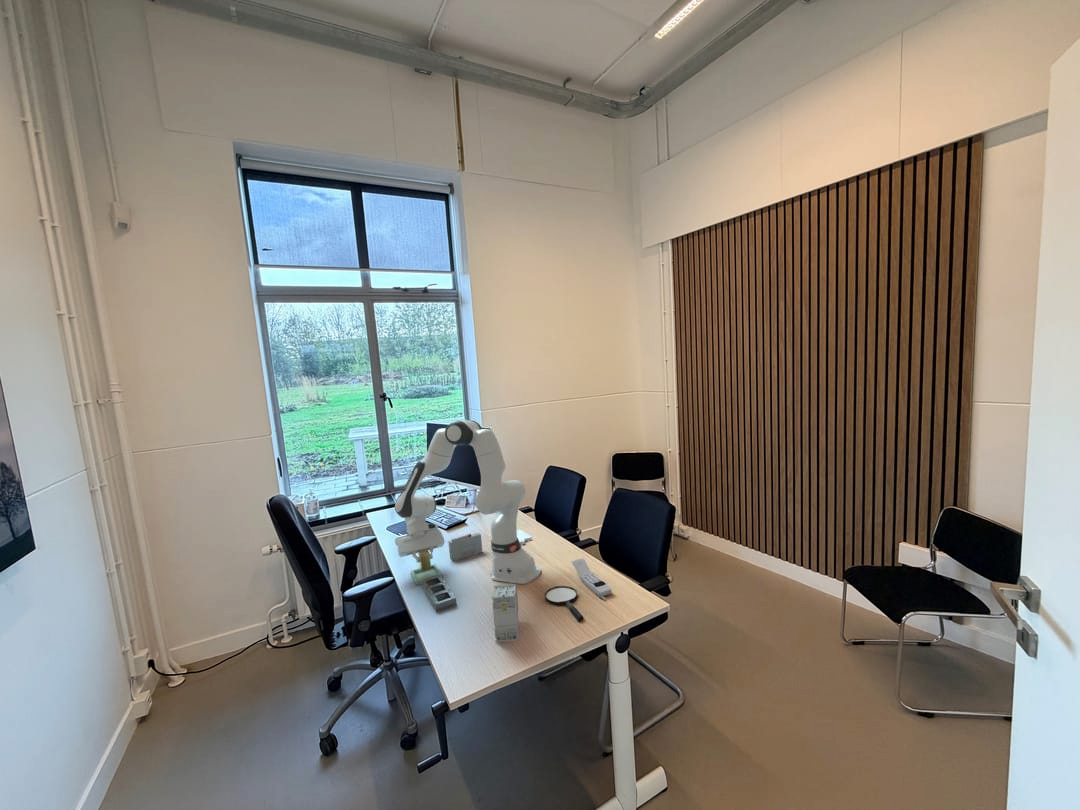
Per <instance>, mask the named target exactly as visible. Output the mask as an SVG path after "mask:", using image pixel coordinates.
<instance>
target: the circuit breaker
mask: <svg viewBox="0 0 1080 810" xmlns="http://www.w3.org/2000/svg"><path fill="white" fill-rule="evenodd" d="M516 584H517V583H509V584H507V583H506V584H496V585H493V587H492V594H491V596H492V597H491V599H492V600H491V602H492V603H491V604H492V611H493V625H494V626H493V628H494V638H495V640H494V642H495V643H497V642H509V641H518V640H519V628H520V625H519V623H520V622H519V600H518V590H517V587H516V586H517V585H516Z"/></svg>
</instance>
